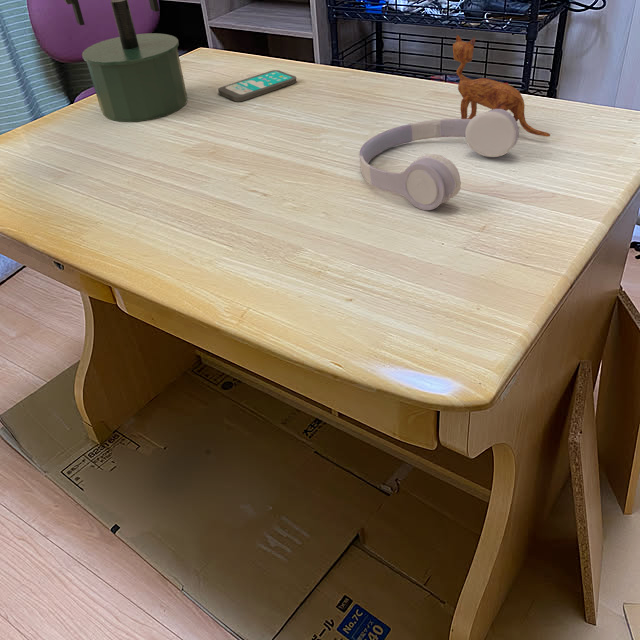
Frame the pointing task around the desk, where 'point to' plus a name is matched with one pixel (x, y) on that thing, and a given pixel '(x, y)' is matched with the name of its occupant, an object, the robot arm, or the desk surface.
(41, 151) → the desk surface
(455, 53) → the cat figurine
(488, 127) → the headphones
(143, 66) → the trash tin
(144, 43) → the tin lid
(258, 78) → the smartphone
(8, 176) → the desk surface
